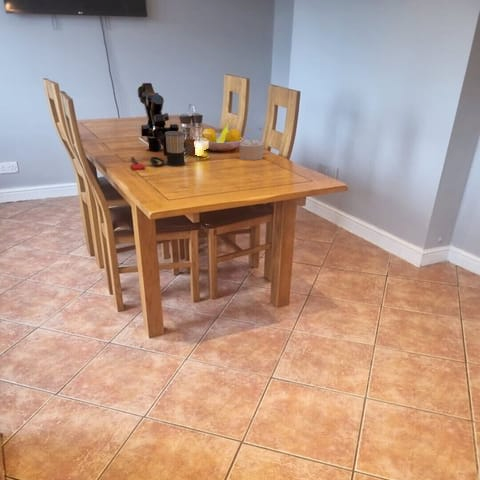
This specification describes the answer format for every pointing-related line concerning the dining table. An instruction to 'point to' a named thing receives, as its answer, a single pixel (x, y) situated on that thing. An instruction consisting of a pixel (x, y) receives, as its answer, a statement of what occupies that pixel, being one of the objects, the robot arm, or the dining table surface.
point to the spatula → (137, 165)
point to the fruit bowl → (223, 139)
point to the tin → (190, 147)
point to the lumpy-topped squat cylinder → (251, 150)
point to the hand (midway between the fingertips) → (162, 144)
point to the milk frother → (171, 149)
